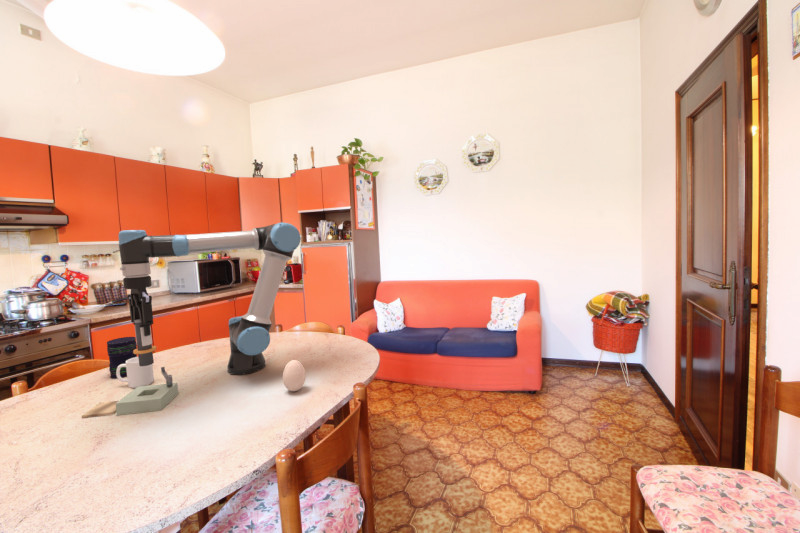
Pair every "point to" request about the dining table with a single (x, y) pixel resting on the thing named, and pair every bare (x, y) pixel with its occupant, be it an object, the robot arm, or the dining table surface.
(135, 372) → the cup
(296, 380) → the egg
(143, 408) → the socket block
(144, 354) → the plug
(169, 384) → the clip
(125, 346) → the storage jar
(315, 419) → the dining table surface
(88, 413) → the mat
